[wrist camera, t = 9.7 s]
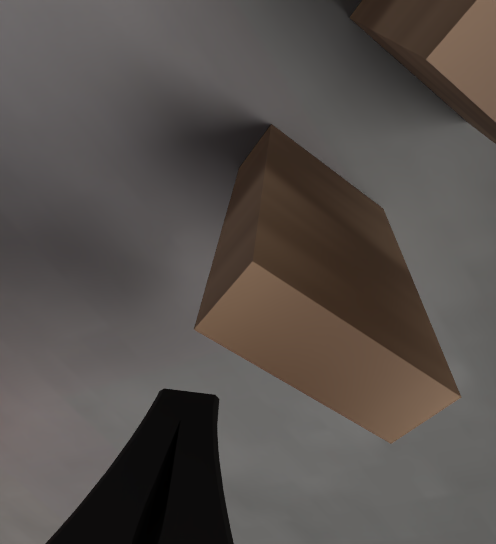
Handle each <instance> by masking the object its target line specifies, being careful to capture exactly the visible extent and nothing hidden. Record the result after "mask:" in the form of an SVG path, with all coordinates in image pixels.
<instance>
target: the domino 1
mask: <svg viewBox="0 0 496 544" xmlns="http://www.w3.org/2000/svg"><path fill="white" fill-rule="evenodd" d="M194 330H196V331H197V332H199V333H201V334H203V335H204V336H206V337H208V338H210V339H211V340H213V341H215V342H216V343H218V344H220V345H222V346H223V347H225V348H227V349H229V350H230V351H232V352H234V353H235V354H237V355H239V356H241V357H242V358H244V359H246V360H247V361H249V362H251V363H253V364H254V365H256V366H258V367H260V368H261V369H263V370H265V371H266V372H268V373H270V374H272V375H273V376H275V377H277V378H279V379H280V380H282V381H284V382H285V383H287V384H289V385H291V386H292V387H294V388H296V389H298V390H299V391H301V392H303V393H304V394H306V395H308V396H310V397H311V398H313V399H315V400H316V401H318V402H320V403H322V404H323V405H325V406H327V407H329V408H330V409H332V410H334V411H335V412H337V413H339V414H341V415H342V416H344V417H346V418H348V419H349V420H351V421H353V422H354V423H356V424H358V425H360V426H361V427H363V428H365V429H366V430H368V431H370V432H372V433H373V434H375V435H377V436H379V437H380V438H382V439H384V440H385V441H387V442H389V443H393V442H394V441H396V440H397V439H399V438H400V437H402V436H404V435H405V434H407V433H408V432H410V431H411V430H413V429H414V428H416V427H417V426H419V425H420V424H422V423H423V422H425V421H426V420H428V419H429V418H431V417H432V416H434V415H435V414H437V413H438V412H440V411H441V410H443V409H444V408H446V407H447V406H449V405H450V404H452V403H453V402H455V401H456V400H458V399H459V398H461V395H460V393H459V391H458V388H457V386H456V383H455V381H454V378H453V376H452V374H451V371H450V369H449V366H448V364H447V362H446V359H445V357H444V354H443V352H442V349H441V347H440V345H439V342H438V340H437V337H436V335H435V333H434V330H433V328H432V325H431V323H430V321H429V318H428V316H427V313H426V311H425V308H424V306H423V304H422V301H421V299H420V296H419V294H418V292H417V289H416V287H415V284H414V282H413V279H412V277H411V275H410V272H409V270H408V267H407V265H406V263H405V260H404V258H403V255H402V253H401V250H400V248H399V246H398V243H397V241H396V238H395V236H394V234H393V231H392V229H391V226H390V224H389V221H388V219H387V217H386V214H385V212H384V209H383V208H381V207H380V206H379V205H378V204H376V203H375V202H374V201H372V200H371V199H370V198H368V197H367V196H366V195H364V194H363V193H362V192H360V191H359V190H358V189H356V188H355V187H354V186H352V185H351V184H350V183H348V182H347V181H346V180H345V179H343V178H342V177H341V176H339V175H338V174H337V173H335V172H334V171H333V170H331V169H330V168H329V167H327V166H326V165H325V164H323V163H322V162H321V161H319V160H318V159H317V158H315V157H314V156H313V155H312V154H310V153H309V152H308V151H306V150H305V149H304V148H302V147H301V146H300V145H298V144H297V143H296V142H294V141H293V140H292V139H290V138H289V137H288V136H286V135H285V134H284V133H283V132H281V131H280V130H279V129H277V128H276V127H275V126H273V125H272V124H271V125H270V127H269V128H268V129H267V131H266V132H265V133H264V135H263V136H262V138H261V139H260V140H259V142H258V143H257V144H256V146H255V147H254V148H253V150H252V151H251V153H250V154H249V155H248V157H247V158H246V159H245V161H244V162H243V163H242V165H241V166H240V168H239V170H238V174H237V177H236V181H235V184H234V188H233V192H232V195H231V199H230V202H229V206H228V209H227V213H226V217H225V220H224V224H223V227H222V231H221V234H220V238H219V242H218V245H217V249H216V252H215V256H214V259H213V263H212V267H211V270H210V274H209V277H208V281H207V284H206V288H205V292H204V295H203V299H202V302H201V306H200V309H199V313H198V317H197V320H196V324H195V327H194Z"/></svg>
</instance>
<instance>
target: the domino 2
mask: <svg viewBox="0 0 496 544" xmlns="http://www.w3.org/2000/svg"><path fill="white" fill-rule="evenodd" d="M349 18H350V19H351V20H352V21H354V22H355V23H356V24H357V25H358V26H359V27H360V28H361V29H363V30H364V31H365V32H366V33H367V34H368V35H369V36H371V37H372V38H373V39H374V40H375V41H376V42H377V43H378V44H380V45H381V46H382V47H383V48H384V49H385V50H386V51H388V52H389V53H390V54H391V55H392V56H393V57H394V58H395V59H397V60H398V61H399V62H400V63H401V64H402V65H403V66H405V67H406V68H407V69H408V70H409V71H410V72H411V73H412V74H414V75H415V76H416V77H417V78H418V79H419V80H420V81H422V82H423V83H424V84H425V85H426V86H427V87H428V88H429V89H431V90H432V91H433V92H434V93H435V94H436V95H437V96H439V97H440V98H441V99H442V100H443V101H444V102H445V103H446V104H448V105H449V106H450V107H451V108H452V109H453V110H454V111H456V112H457V113H458V114H459V115H460V116H461V117H462V118H463V119H465V120H466V121H467V122H468V123H469V124H471V125H472V126H473V127H474V128H476V129H477V130H478V131H480V132H481V133H482V134H484V135H485V136H486V137H487V138H489V139H490V140H491V141H493V142H494V143H495V144H496V0H362V1H361V2H360V4H359V5H358V7H357V8H356V9H355V11H354V12H353V13H352V15H351V16H350V17H349Z"/></svg>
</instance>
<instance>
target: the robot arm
mask: <svg viewBox="0 0 496 544" xmlns="http://www.w3.org/2000/svg"><path fill="white" fill-rule="evenodd" d="M218 409H219V398H218V397H217V396H216V395H212V394H204V393H196V392H188V391H180V390H172V389H163V390H161V391H159V393H158V395H157V397H156V399H155V401H154V402H153V404H152V406H151V407H150V409H149V411H148V412H147V414H146V416H145V417H144V419H143V420H142V422H141V424H140V425H139V427H138V428H137V430H136V431H135V433H134V434H133V436H132V437H131V439H130V440H129V441H128V443H127V444H126V445H125V447H124V448H123V450H122V451H121V452H120V454H119V455H118V457H117V458H116V459H115V461H114V462H113V463H112V465H111V466H110V468H109V469H108V470H107V471H106V473H105V474H104V475H103V477H102V478H101V479H100V480H99V482H98V483H97V484H96V485H95V487H94V488H93V489H92V490H91V492H90V493H89V494H88V495H87V497H86V498H85V499H84V500H83V501H82V503H81V504H80V505H79V506H78V508H77V509H76V510H75V511H74V512H73V513H72V515H71V516H70V517H69V518H68V519H67V520H66V521H65V523H64V524H63V525H62V526H61V527H60V528H59V529H58V531H57V532H56V533H55V534H54V535H53V536H52V537H51V538H50V539H49V540H48V541H47V543H46V544H234V543H233V538H232V534H231V529H230V524H229V519H228V514H227V509H226V503H225V497H224V491H223V484H222V477H221V469H220V462H219V452H218V436H217V421H218Z"/></svg>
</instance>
